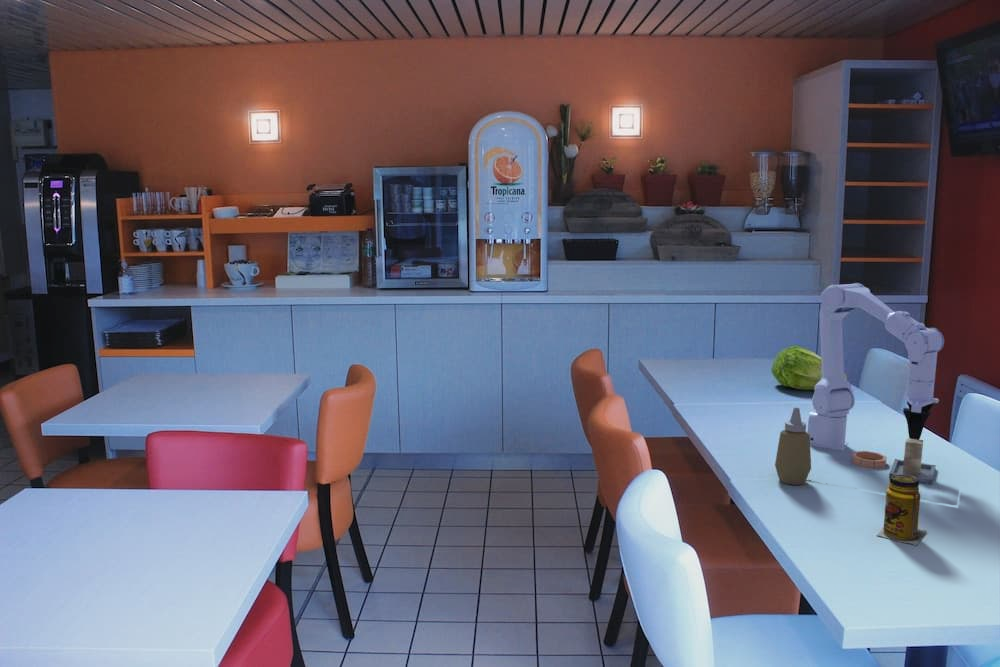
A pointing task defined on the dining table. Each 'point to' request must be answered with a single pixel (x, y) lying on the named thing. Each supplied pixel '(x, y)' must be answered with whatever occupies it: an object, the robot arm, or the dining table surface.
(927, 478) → the slate tray
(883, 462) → the terracotta octagonal bowl
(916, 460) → the beech peg
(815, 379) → the lettuce
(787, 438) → the squeeze bottle
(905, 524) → the condiment
